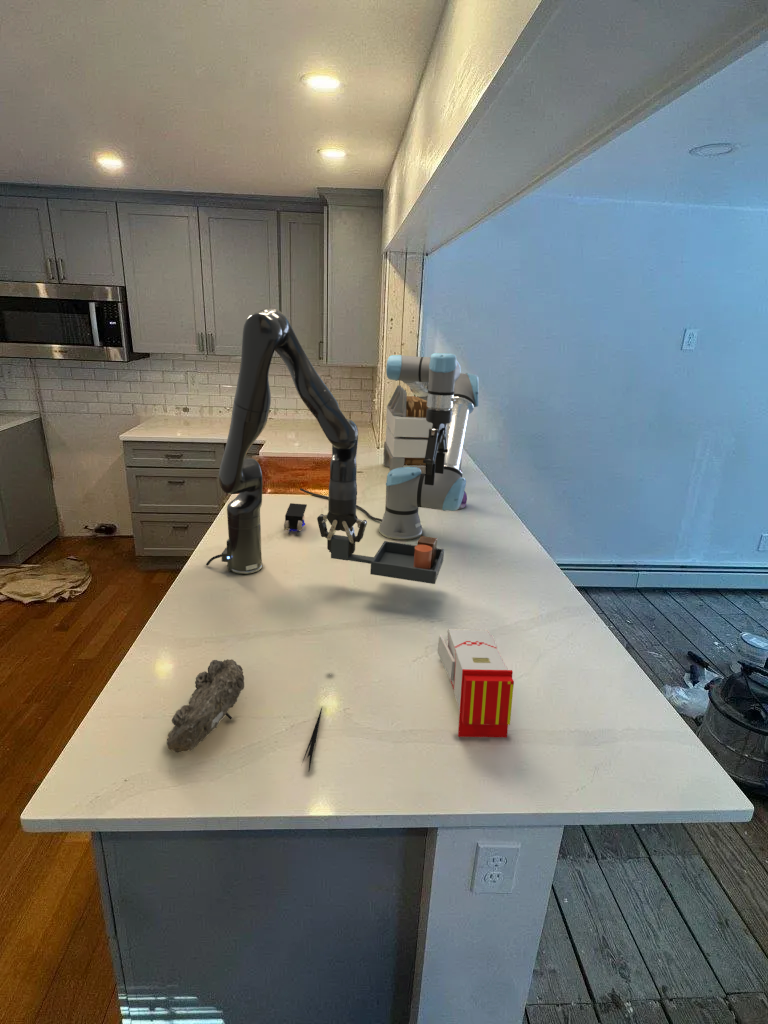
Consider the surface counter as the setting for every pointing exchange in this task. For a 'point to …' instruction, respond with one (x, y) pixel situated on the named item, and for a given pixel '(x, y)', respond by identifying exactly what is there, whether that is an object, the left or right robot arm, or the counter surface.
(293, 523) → the figurine character
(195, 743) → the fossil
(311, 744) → the feather
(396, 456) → the white crate
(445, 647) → the toy
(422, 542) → the walnut block
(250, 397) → the left robot arm
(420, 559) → the terracotta cylinder
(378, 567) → the tray
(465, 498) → the figurine
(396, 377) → the right robot arm
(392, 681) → the counter surface
